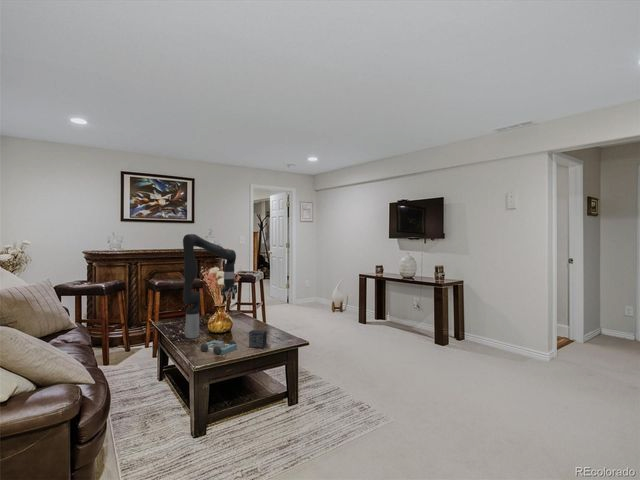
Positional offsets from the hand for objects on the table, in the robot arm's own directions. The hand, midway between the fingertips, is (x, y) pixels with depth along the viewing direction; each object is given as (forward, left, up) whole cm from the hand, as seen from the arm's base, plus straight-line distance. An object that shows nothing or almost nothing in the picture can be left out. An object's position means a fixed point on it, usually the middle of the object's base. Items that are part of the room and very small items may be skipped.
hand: (229, 300), depth 252 cm
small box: (+28, -3, -28) cm, 40 cm away
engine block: (+9, -20, -28) cm, 36 cm away
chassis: (+9, -20, -28) cm, 36 cm away
